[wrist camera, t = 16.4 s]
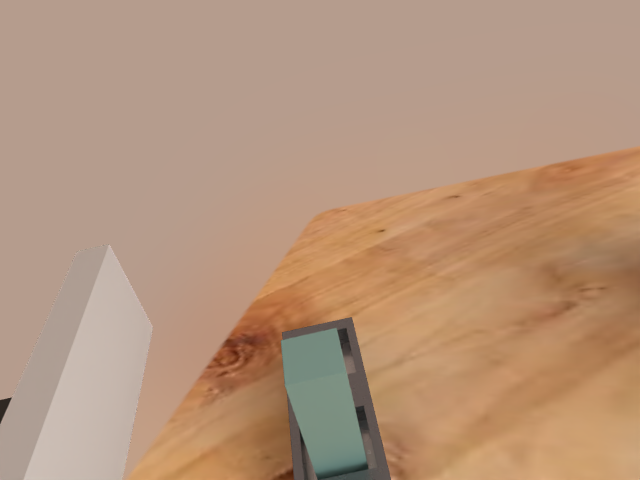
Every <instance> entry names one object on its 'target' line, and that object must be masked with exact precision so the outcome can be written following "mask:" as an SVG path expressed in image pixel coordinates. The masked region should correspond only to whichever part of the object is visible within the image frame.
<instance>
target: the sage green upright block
mask: <svg viewBox="0 0 640 480" xmlns="http://www.w3.org/2000/svg"><path fill="white" fill-rule="evenodd" d="M281 348H282V359H283V370H284V381H285V388H286V390H287V393H288V396H289V399H290V402H291V405H292V408H293V411H294V413H295V416H296V419H297V422H298V425H299V428H300V431H301V434H302V436H303V439H304V442H305V445H306V448H307V451H308V454H309V457H310V460H311V462H312V465H313V468H314V471H315V474H316V477H317V480H321V479H325V478H330V477H335V476H339V475H344V474H348V473H353V472H358V471H362V470H367V469H369V468H368V464H367V459H366V454H365V450H364V445H363V440H362V436H361V431H360V427H359V422H358V418H357V414H356V410H355V405H354V401H353V397H352V392H351V388H350V384H349V379H348V375H347V371H346V366H345V362H344V358H343V353H342V349H341V345H340V341H339V336H338V332H337V328H334V329H329V330H325V331H320V332H316V333H311V334H307V335H302V336H298V337H294V338H289V339H285V340H281Z"/></svg>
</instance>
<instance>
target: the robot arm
mask: <svg viewBox="0 0 640 480" xmlns="http://www.w3.org/2000/svg"><path fill="white" fill-rule="evenodd" d="M152 330H153V327H152V325H151V323H150V321H149V319H148V317H147V315H146V313H145V311H144V309H143V308H142V306H141V304H140V302H139V300H138V298H137V296H136V294H135V292H134V290H133V289H132V287H131V285H130V283H129V281H128V279H127V277H126V276H125V273H124V272H123V270H122V268H121V266H120V264H119V262H118V260H117V258H116V256H115V254H114V252H113V251H112V249H111V247H110V245H109V244H108V245H103V246H99V247H94V248H90V249H85V250H81V251H77V252H76V254H75V256H74V259H73V261H72V263H71V266H70V268H69V270H68V272H67V275H66V277H65V279H64V281H63V284H62V286H61V288H60V290H59V293H58V295H57V297H56V299H55V302H54V304H53V306H52V309H51V311H50V313H49V315H48V317H47V320H46V322H45V324H44V326H43V329H42V331H41V333H40V336H39V338H38V340H37V342H36V345H35V347H34V349H33V351H32V354H31V356H30V358H29V360H28V363H27V365H26V367H25V370H24V372H23V374H22V376H21V378H20V381H19V383H18V385H17V387H16V390H15V392H14V394H13V396H12V398H8V399H4V400H0V480H123V475H124V470H125V465H126V460H127V454H128V449H129V445H130V440H131V435H132V430H133V425H134V419H135V415H136V410H137V404H138V400H139V395H140V390H141V385H142V380H143V375H144V370H145V365H146V360H147V355H148V350H149V345H150V340H151V335H152Z"/></svg>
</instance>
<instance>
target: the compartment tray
mask: <svg viewBox="0 0 640 480" xmlns="http://www.w3.org/2000/svg"><path fill="white" fill-rule="evenodd" d="M334 328H337V332H338V336H339V341H340V345H341V349H342V353H343V358H344V362H345V366H346V371H347V375H348V379H349V384H350V388H351V392H352V397H353V401H354V405H355V410H356V414H357V418H358V422H359V427H360V431H361V436H362V440H363V445H364V450H365V454H366V459H367V464H368V468H369V469H367V470H362V471H358V472H353V473H348V474H344V475H339V476H335V477H330V478H325V479H321V480H391V478H390V473H389V469H388V465H387V461H386V457H385V453H384V449H383V444H382V440H381V436H380V432H379V428H378V424H377V420H376V415H375V411H374V407H373V403H372V399H371V395H370V391H369V386H368V382H367V378H366V374H365V370H364V366H363V362H362V357H361V353H360V349H359V345H358V341H357V337H356V333H355V328H354V324H353V320H352V317H350V318H346V319H341V320H337V321H332V322H327V323H323V324H318V325H314V326H309V327H304V328H300V329H295V330H291V331H286V332H282V337H283V340H285V339H289V338H294V337H298V336H302V335H307V334H311V333H316V332H320V331H325V330H329V329H334ZM287 398H288V411H289V423H290V435H291V447H292V459H293V472H294V480H317V477H316V474H315V471H314V468H313V465H312V462H311V460H310V457H309V454H308V451H307V448H306V445H305V442H304V439H303V436H302V434H301V431H300V428H299V425H298V422H297V419H296V416H295V413H294V411H293V408H292V405H291V402H290V399H289V396H288V393H287Z"/></svg>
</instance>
